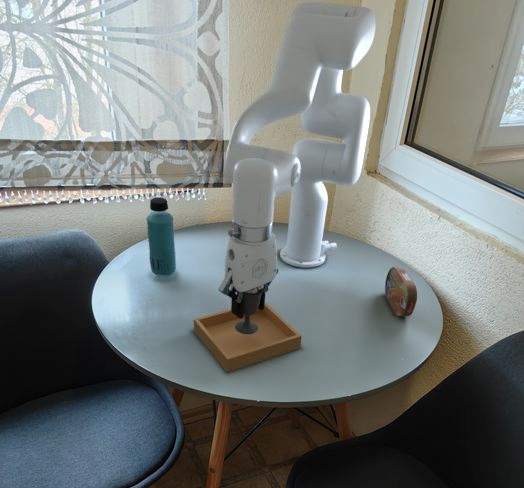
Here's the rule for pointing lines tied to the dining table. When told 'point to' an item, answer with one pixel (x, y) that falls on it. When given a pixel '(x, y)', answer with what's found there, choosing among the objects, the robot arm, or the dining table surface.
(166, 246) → the beverage bottle
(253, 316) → the tray
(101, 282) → the dining table surface
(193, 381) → the dining table surface
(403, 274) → the tin
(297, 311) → the dining table surface
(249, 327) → the sundae
